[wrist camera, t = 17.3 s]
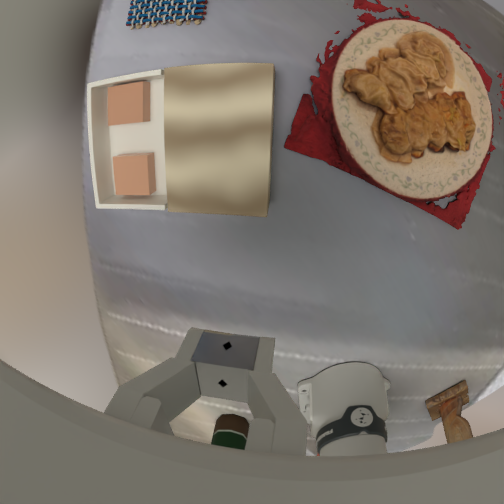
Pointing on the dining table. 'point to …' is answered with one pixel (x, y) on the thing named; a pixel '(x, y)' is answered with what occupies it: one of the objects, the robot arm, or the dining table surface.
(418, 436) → the dining table surface
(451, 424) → the bird sculpture
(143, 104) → the terracotta tile
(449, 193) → the plate with food
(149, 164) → the terracotta tile
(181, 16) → the woven mat
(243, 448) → the beer bottle
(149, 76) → the box
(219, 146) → the wooden box sleeve
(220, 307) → the dining table surface
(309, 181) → the dining table surface
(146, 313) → the dining table surface
